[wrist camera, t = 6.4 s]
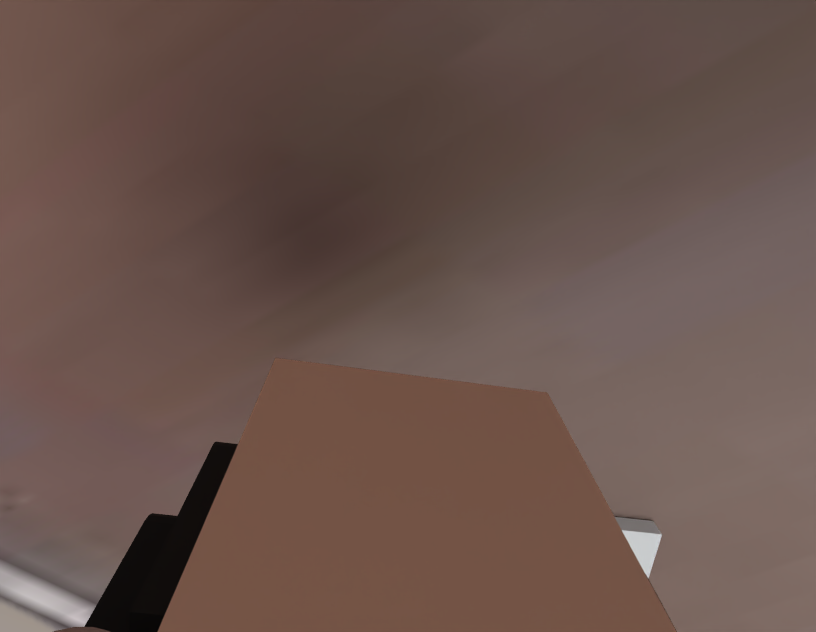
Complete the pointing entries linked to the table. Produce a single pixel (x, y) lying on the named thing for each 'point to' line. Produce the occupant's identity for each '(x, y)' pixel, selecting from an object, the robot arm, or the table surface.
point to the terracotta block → (408, 516)
